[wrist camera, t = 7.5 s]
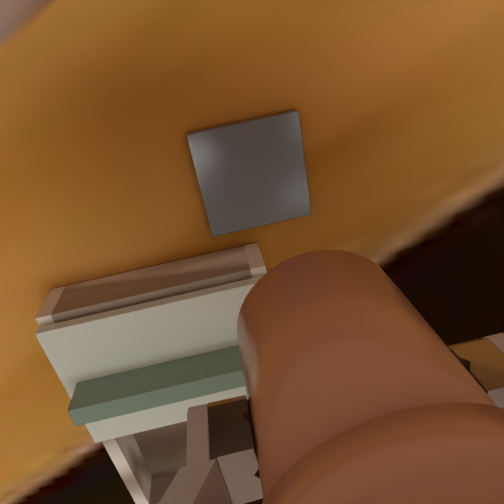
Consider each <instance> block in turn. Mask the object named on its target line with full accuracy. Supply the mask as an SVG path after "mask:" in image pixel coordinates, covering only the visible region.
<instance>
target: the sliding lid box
mask: <svg viewBox="0 0 504 504" xmlns="http://www.w3.org/2000/svg"><path fill="white" fill-rule="evenodd" d="M266 273H267V271H266V266H265V263H264V260H263V257H262V254H261V251H260V248H259V245H258V242H257V243H253V244H248V245H244V246H239V247H235V248H231V249H226V250H222V251H217V252H213V253H209V254H204V255H200V256H195V257H191V258H187V259H182V260H178V261H173V262H169V263H165V264H160V265H156V266H151V267H147V268H143V269H138V270H134V271H129V272H125V273H121V274H116V275H112V276H107V277H103V278H98V279H94V280H90V281H85V282H81V283H76V284H72V285H68V286H63V287H59V288H54V289H51V291H50V293H49V294H48V296H47V298H46V300H45V302H44V303H43V305H42V307H41V309H40V311H39V312H38V314H37V316H36V318H35V319H36V321H37V323H38V325H39V327H42V326H46V325H50V324H55V323H59V322H63V321H68V320H72V319H77V318H81V317H85V316H90V315H94V314H98V313H103V312H107V311H111V310H116V309H120V308H124V307H129V306H133V305H137V304H142V303H146V302H151V301H155V300H159V299H164V298H168V297H172V296H177V295H181V294H185V293H190V292H194V291H198V290H203V289H207V288H212V287H216V286H220V285H225V284H229V283H233V282H238V281H242V280H246V279H251V278H255V277H259V276H264V275H265V274H266ZM102 443H103V444H104V446H105V448H106V450H107V452H108V454H109V455H110V457H111V459H112V461H113V463H114V465H115V466H116V468H117V470H118V472H119V474H120V476H121V478H122V479H123V481H124V483H125V485H126V487H127V489H128V490H129V492H130V494H131V496H132V498H133V500H134V501H135V503H136V504H158V503H159V502H160V500H161V499H162V497H163V495H164V494H165V492H166V490H167V489H168V487H169V486H170V484H171V482H172V481H173V479H174V477H175V476H176V474H177V472H178V471H179V469H180V468H181V467H184V466H187V421H185V422H180V423H176V424H172V425H168V426H164V427H160V428H155V429H151V430H147V431H143V432H139V433H134V434H130V435H126V436H122V437H118V438H114V439H109V440H105V441H102Z"/></svg>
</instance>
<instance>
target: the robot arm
mask: <svg viewBox="0 0 504 504" xmlns="http://www.w3.org/2000/svg"><path fill="white" fill-rule="evenodd" d="M447 347H448V348H449V349H450V350H451V352H452V353H453V354H454V355H455V356H456V358H457V359H458V360H459V361H460V362H461V364H462V365H463V366H464V367H465V368H466V370H467V371H468V372H469V373H470V374H471V375H472V377H473V378H474V379H475V380H476V381H477V383H478V384H479V385H480V386H481V387H482V389H483V390H484V391H485V392H486V393H487V395H488V396H489V397H490V398H491V399H492V401H493V402H494V403H495V404H496V405H497V407H500V408H504V333H499V334H495V335H491V336H487V337H483V338H478V339H474V340H470V341H466V342H462V343H458V344H454V345H450V346H447ZM262 498H263V493H262V487H261V481H260V474H259V468H258V461H257V454H256V448H255V441H254V436H253V430H252V424H251V416H250V410H249V404H248V399H247V396H246V395H243V396H238V397H234V398H229V399H224V400H220V401H215V402H210V403H207V404H202V405H198V406H193V407H189V408H188V412H187V466H184V467H181V468H180V469H179V471H178V472H177V474H176V476H175V477H174V479H173V481H172V482H171V484H170V486H169V487H168V489H167V490H166V492H165V494H164V495H163V497H162V499H161V500H160V502H159V503H158V504H244V503H248V502H251V501H255V500H258V499H262Z"/></svg>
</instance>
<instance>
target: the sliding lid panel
mask: <svg viewBox="0 0 504 504" xmlns="http://www.w3.org/2000/svg"><path fill="white" fill-rule="evenodd" d="M261 277H262V276H259V277H255V278H251V279H246V280H242V281H238V282H233V283H229V284H225V285H220V286H216V287H212V288H207V289H203V290H198V291H194V292H190V293H185V294H181V295H177V296H172V297H168V298H164V299H159V300H155V301H151V302H146V303H142V304H137V305H133V306H129V307H124V308H120V309H116V310H111V311H107V312H103V313H98V314H94V315H90V316H85V317H81V318H77V319H72V320H68V321H63V322H59V323H55V324H50V325H46V326H42V327H38V329H37V331H36V333H35V335H36V337H37V339H38V341H39V343H40V344H41V346H42V348H43V350H44V352H45V353H46V355H47V357H48V359H49V361H50V362H51V364H52V366H53V368H54V370H55V371H56V373H57V375H58V377H59V379H60V380H61V382H62V384H63V386H64V388H65V389H66V391H67V393H68V395H69V397H70V398H71V402H70V405H69V408H68V413H69V415H70V416H71V418H72V420H73V422H74V423H75V425H76V426H79V425H83V424H85V425H86V427H87V429H88V431H89V432H90V434H91V436H92V438H93V440H94V441H95V443H97V442H101V441H105V440H109V439H114V438H118V437H122V436H126V435H130V434H134V433H139V432H143V431H147V430H151V429H155V428H160V427H164V426H168V425H172V424H176V423H180V422H185V421H187V412H188V408H189V407H193V406H198V405H202V404H207V403H210V402H215V401H220V400H224V399H229V398H234V397H238V396H243V395H246V396H247V393H246V387H245V380H244V374H243V368H242V361H241V355H240V349H239V343H238V336H237V321H238V315H239V312H240V309H241V306H242V304H243V302H244V299H245V297H246V296H247V294H248V293H249V291H250V290H251V288H252V287H253V286H254V285H255V284H256V282H257V281H258V280H259V279H260V278H261Z"/></svg>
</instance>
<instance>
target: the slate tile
mask: <svg viewBox="0 0 504 504" xmlns="http://www.w3.org/2000/svg"><path fill="white" fill-rule="evenodd" d="M187 139H188V143H189V147H190V151H191V155H192V159H193V163H194V166H195V170H196V174H197V178H198V182H199V186H200V190H201V194H202V198H203V201H204V205H205V209H206V213H207V217H208V221H209V225H210V229H211V233H212V236H213V237H214V236H218V235H222V234H227V233H231V232H236V231H240V230H245V229H249V228H253V227H258V226H262V225H267V224H271V223H276V222H280V221H284V220H289V219H293V218H298V217H302V216H307V215H311V208H310V200H309V192H308V184H307V176H306V168H305V160H304V152H303V144H302V136H301V128H300V121H299V113H298V110H292V111H287V112H283V113H278V114H273V115H269V116H264V117H260V118H255V119H250V120H246V121H241V122H237V123H232V124H227V125H223V126H218V127H214V128H209V129H204V130H200V131H195V132H191V133H187Z"/></svg>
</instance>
